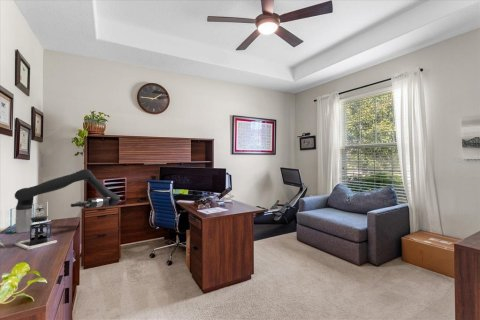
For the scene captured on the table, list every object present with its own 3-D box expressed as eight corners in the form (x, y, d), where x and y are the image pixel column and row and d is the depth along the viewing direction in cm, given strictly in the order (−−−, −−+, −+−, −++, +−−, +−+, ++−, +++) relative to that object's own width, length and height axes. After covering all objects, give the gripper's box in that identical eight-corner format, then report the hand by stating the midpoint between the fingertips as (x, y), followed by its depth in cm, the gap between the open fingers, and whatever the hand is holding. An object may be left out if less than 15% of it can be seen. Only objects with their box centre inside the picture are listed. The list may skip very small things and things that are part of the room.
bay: (14, 244, 150) (14, 242, 150) (43, 237, 164) (43, 236, 164) (27, 249, 142) (27, 247, 142) (56, 242, 155) (56, 240, 155)
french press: (25, 246, 147) (26, 210, 148) (31, 241, 156) (32, 207, 156) (48, 243, 152) (49, 209, 152) (52, 239, 161) (53, 206, 161)
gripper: (90, 197, 190) (66, 199, 174) (100, 198, 184) (76, 201, 168) (89, 206, 189) (66, 209, 174) (99, 208, 183) (75, 211, 168)
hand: (71, 205), depth 171 cm, fingers closed
